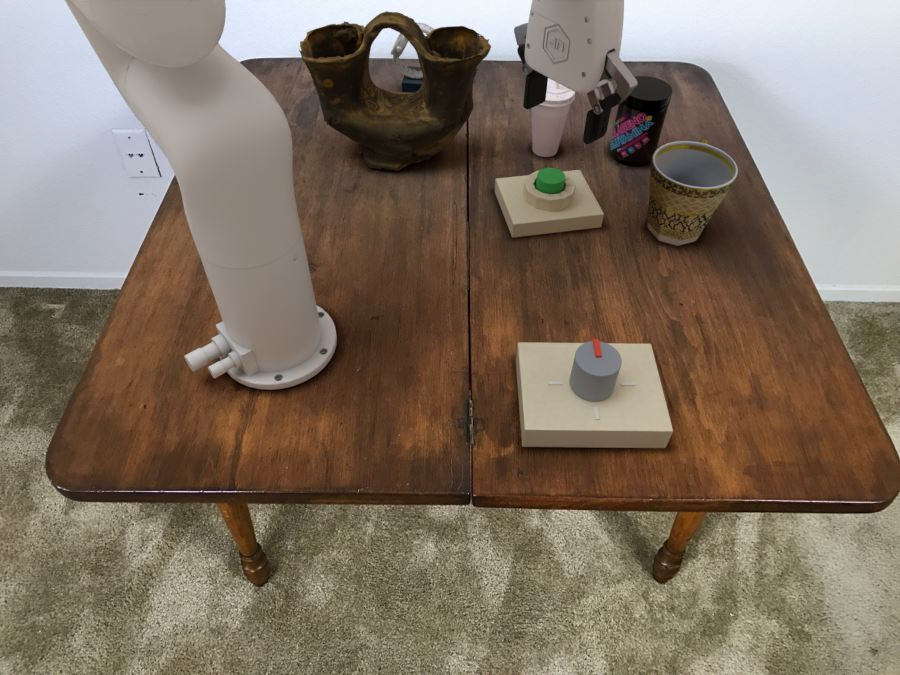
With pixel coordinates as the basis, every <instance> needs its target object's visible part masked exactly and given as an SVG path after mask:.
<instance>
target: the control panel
mask: <svg viewBox="0 0 900 675" xmlns="http://www.w3.org/2000/svg"><path fill="white" fill-rule="evenodd" d="M584 343H585V342H531V341H530V342H528V341H527V342H523V341H522V342H520V341H519V342H517V345H516V346H517V347H516V353H515V371H516V372H515V373H516V383H517V384H516V385H517V398H518V399H517V400H518V409H519V424H520V437H521V438H520V439H521V447H522V448H599V449H600V448H601V449H602V448H604V449H605V448H607V449H610V448H611V449H666V448H667V446H668V444H669V442H670V440H671V438H672V436H673V433H674V429H673V425H672V421H671V417H670V413H669V409H668V404H667V401H666V396H665V394H664V390H663V386H662V381H661V377H660V373H659V370H658V366H657V362H656V358H655V354H654V350H653V346H652V343H623V342H622V343H621V342H620V343H619V342H618V343H615V342H606V343H607V344H609V345H611V346H613V347H614V348H615V349H616V350H617V351H618V352H619V354H620V356H621V359H622V364H621V368H620V371H619V374H618V377H617V381H616V384H615V387H614V390H613V393H612V394H611V395H610V396H609V397H608V398H606V399H604V400H602V401H588V400H585V399H582V398H580V397H579V396H577V395H576V394H575V393H574V392H573V390H572V389H571V387H570V382H569V380H570V375H571V370H572V366H573V362H574V357H575V353H576V350H577V349H578V347H580V346H581V345H582V344H584Z"/></svg>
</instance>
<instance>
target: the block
mask: <svg viewBox="0 0 900 675" xmlns="http://www.w3.org/2000/svg"><path fill="white" fill-rule="evenodd" d="M539 171H540V170H536V171H534V172H532V173H530V174H526V175H517V176H516V175H515V176H507V177H497V178H495V180H494V195H495V196H496V199H497V202H498V204H499V207H500V209H501V212H502V215H503V217H504V220H505V222H506V225H507V228H508V231H509V233H510V236H511V238H521V237H528V236H529V237H531V236H537V235H545V234H547V235H548V234H555V233H564V232H571V231H572V232H573V231H580V230H589V229H597V228H598V229H599V228H602V225H603V221H604V216H605V212H604V211H603V209H602V207H601V206H600V204H599V202H598V201H597V198H596V196H595V194H594V193H593V190H592V189H591V187H590V186H589V184H588V182H587V180H586V178H585V176H584V175H583V172H582V170H581V169H575V170H573V169H572V170H564V171H562V172H563V173H564V174H565V182H564V188H563V190H562V192H560V193H558V194H546V193H542V192H540V191H539V190H537V188H536V180H537V173H538V172H539Z"/></svg>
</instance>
